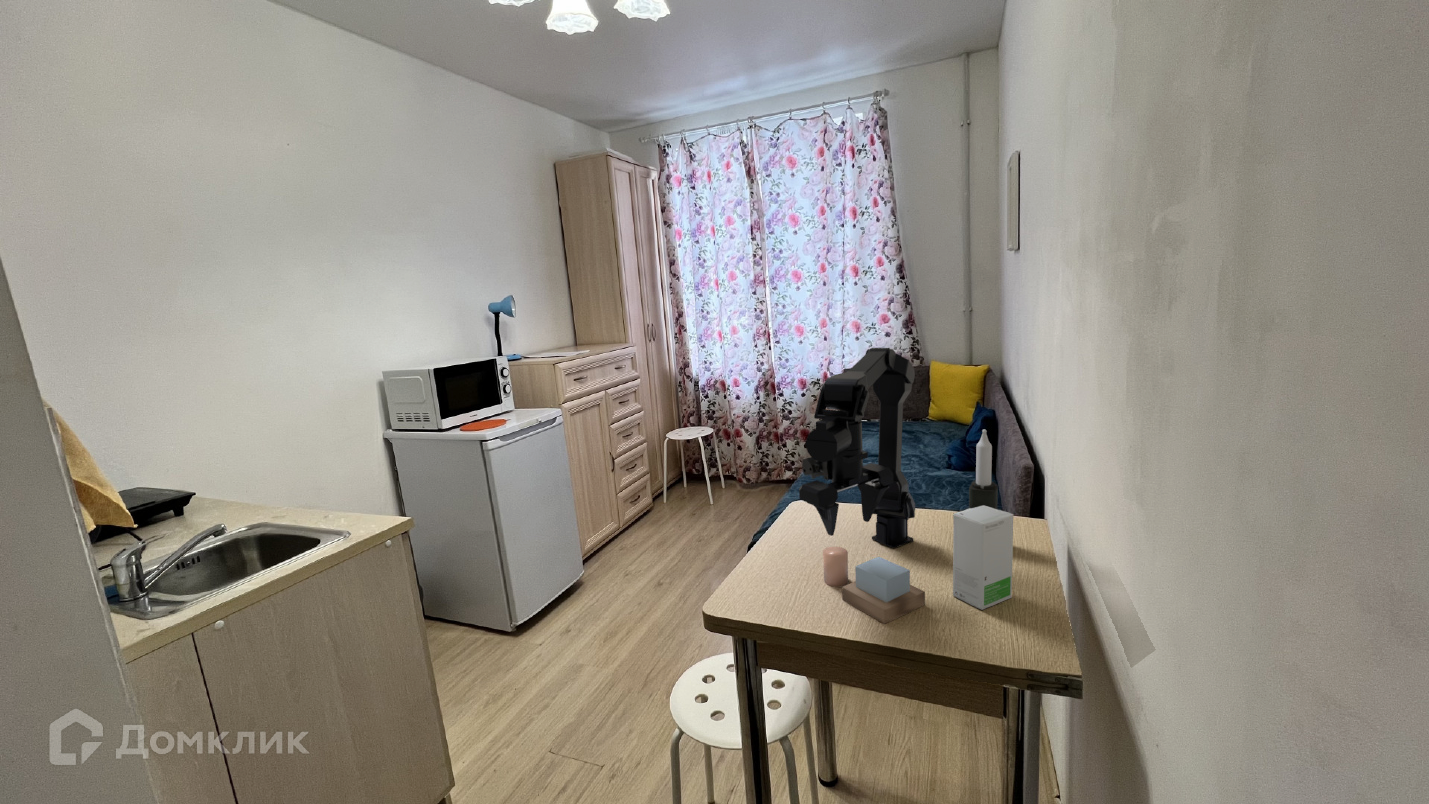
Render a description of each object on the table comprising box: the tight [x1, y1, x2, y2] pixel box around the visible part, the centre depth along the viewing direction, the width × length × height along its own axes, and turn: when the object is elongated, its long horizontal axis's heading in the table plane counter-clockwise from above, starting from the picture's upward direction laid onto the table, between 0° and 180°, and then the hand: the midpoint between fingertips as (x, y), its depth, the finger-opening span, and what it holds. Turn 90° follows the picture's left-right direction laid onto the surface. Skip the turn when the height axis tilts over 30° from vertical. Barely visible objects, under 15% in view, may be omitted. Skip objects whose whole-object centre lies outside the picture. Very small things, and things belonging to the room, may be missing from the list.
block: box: [854, 556, 911, 603], centre depth 103 cm, size 6×7×4 cm
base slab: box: [841, 580, 926, 625], centre depth 104 cm, size 10×10×2 cm
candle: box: [968, 429, 999, 509], centre depth 122 cm, size 5×5×25 cm
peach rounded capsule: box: [822, 546, 849, 588], centre depth 113 cm, size 5×5×6 cm
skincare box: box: [952, 505, 1015, 610], centre depth 103 cm, size 8×7×16 cm
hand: (848, 528), depth 108 cm, fingers open, 9 cm apart
